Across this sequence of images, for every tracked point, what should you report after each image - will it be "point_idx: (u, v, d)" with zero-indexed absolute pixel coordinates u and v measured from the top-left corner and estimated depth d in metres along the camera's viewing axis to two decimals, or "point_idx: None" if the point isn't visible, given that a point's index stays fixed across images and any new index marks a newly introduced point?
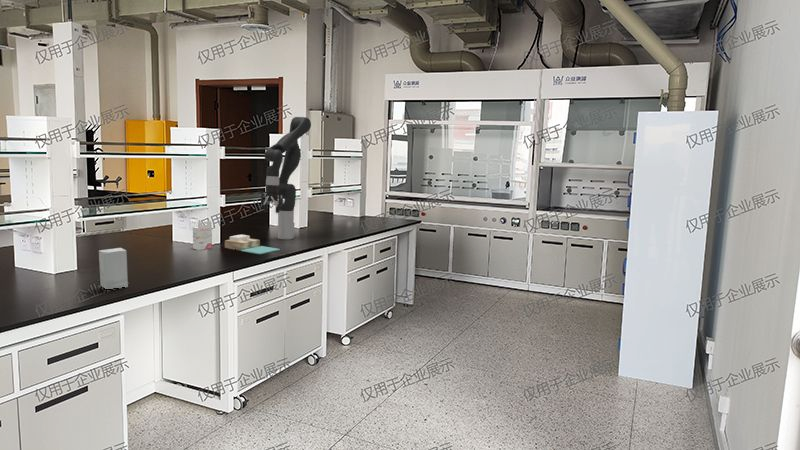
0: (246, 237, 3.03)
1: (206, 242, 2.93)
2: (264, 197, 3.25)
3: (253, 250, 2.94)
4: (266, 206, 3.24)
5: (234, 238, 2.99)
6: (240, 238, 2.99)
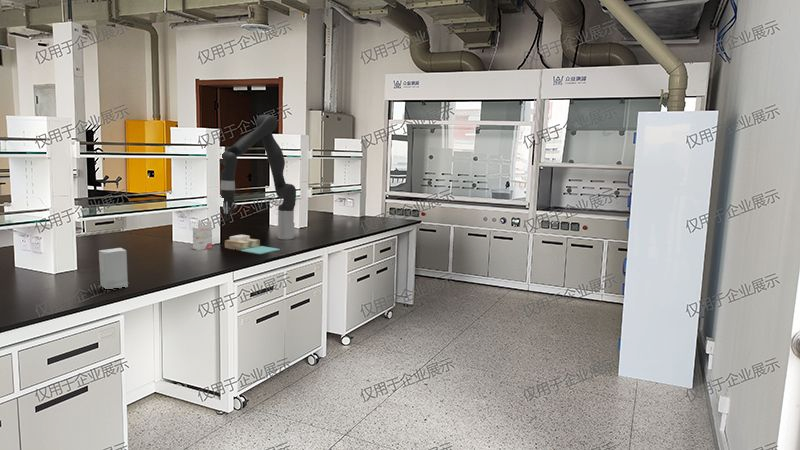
0: (246, 237, 3.03)
1: (206, 242, 2.93)
2: None
3: (253, 250, 2.94)
4: None
5: (234, 238, 2.99)
6: (240, 238, 2.99)
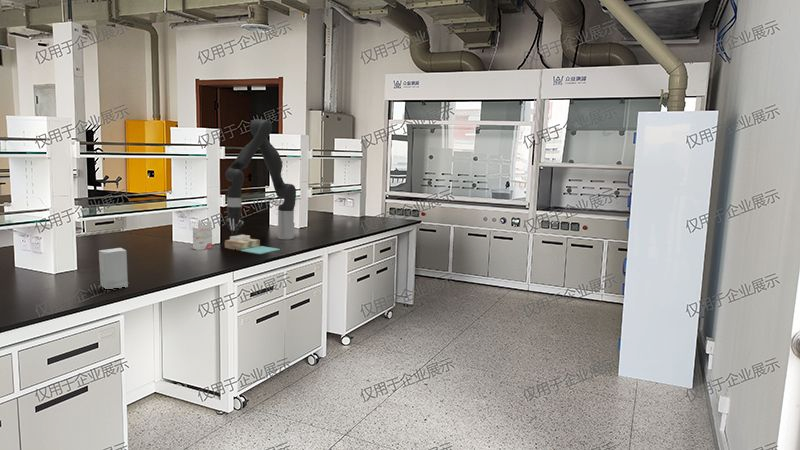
0: (246, 237, 3.03)
1: (206, 242, 2.93)
2: (229, 222, 3.06)
3: (253, 250, 2.94)
4: None
5: (234, 238, 2.99)
6: (240, 238, 2.99)
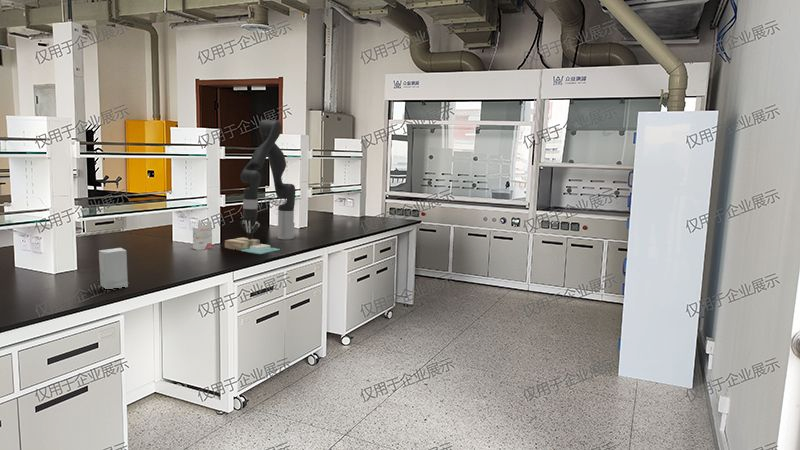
0: None
1: (206, 242, 2.93)
2: (244, 224, 3.01)
3: (253, 250, 2.94)
4: None
5: (253, 249, 2.94)
6: None
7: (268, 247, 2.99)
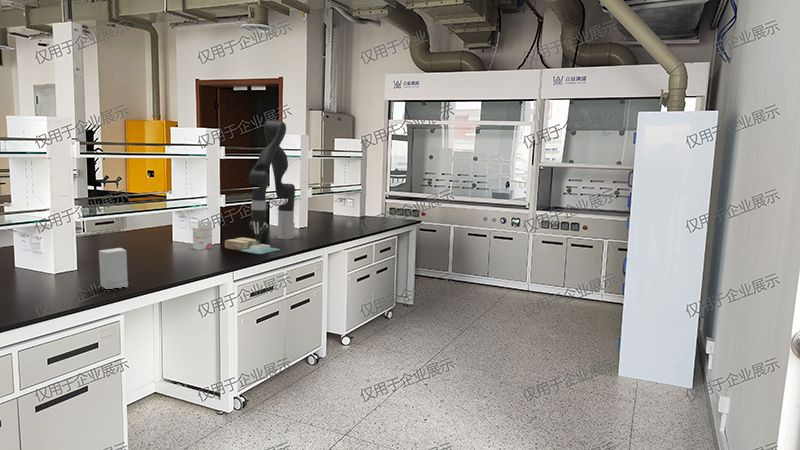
0: None
1: (206, 242, 2.93)
2: (252, 225, 2.98)
3: (253, 250, 2.94)
4: None
5: (253, 249, 2.94)
6: None
7: (268, 247, 2.99)
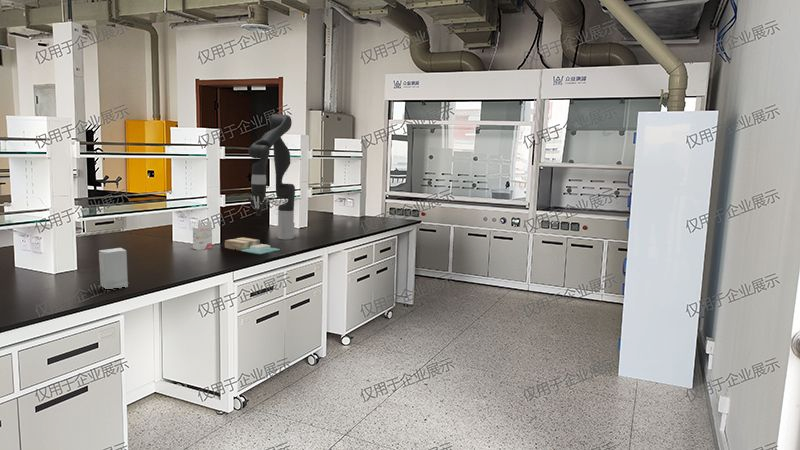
0: None
1: (206, 242, 2.93)
2: (253, 200, 2.96)
3: (253, 250, 2.94)
4: None
5: (253, 249, 2.94)
6: None
7: (268, 247, 2.99)
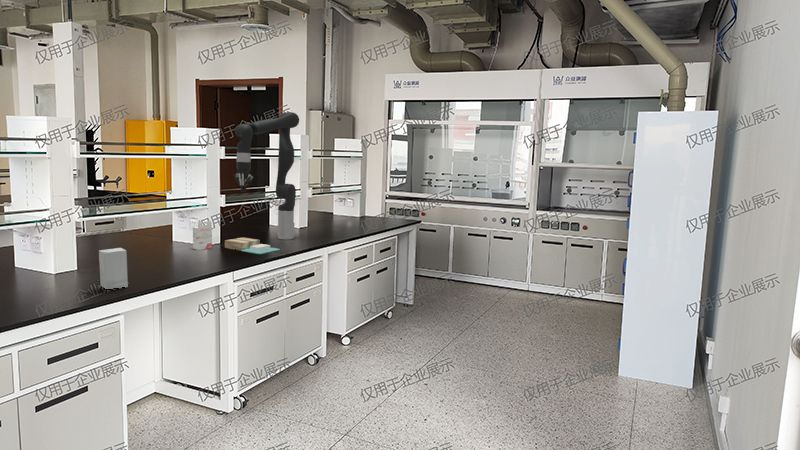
0: None
1: (206, 242, 2.93)
2: (238, 177, 3.13)
3: (253, 250, 2.94)
4: None
5: (253, 249, 2.94)
6: None
7: (268, 247, 2.99)
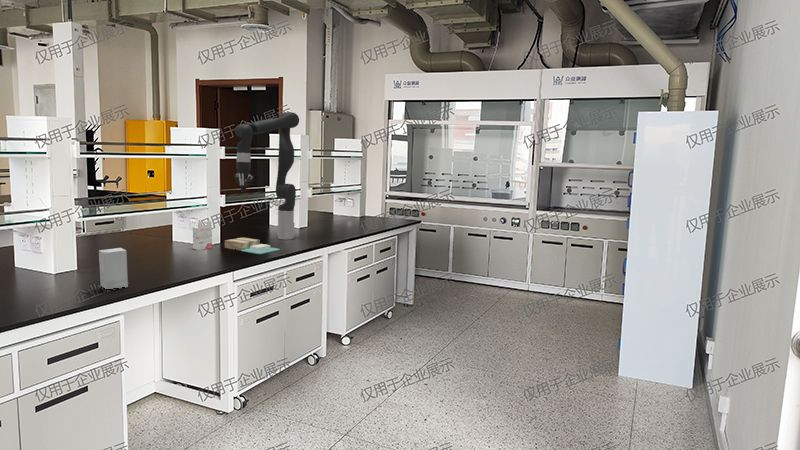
0: None
1: (206, 242, 2.93)
2: (238, 177, 3.13)
3: (253, 250, 2.94)
4: None
5: (253, 249, 2.94)
6: None
7: (268, 247, 2.99)
